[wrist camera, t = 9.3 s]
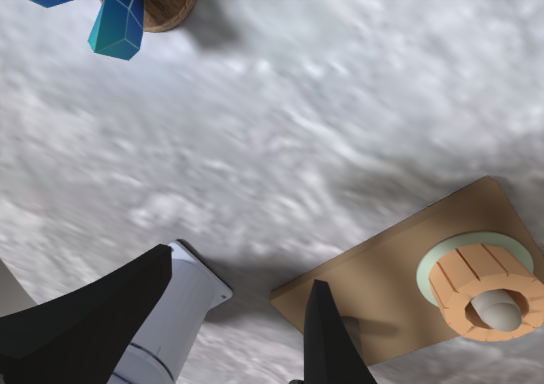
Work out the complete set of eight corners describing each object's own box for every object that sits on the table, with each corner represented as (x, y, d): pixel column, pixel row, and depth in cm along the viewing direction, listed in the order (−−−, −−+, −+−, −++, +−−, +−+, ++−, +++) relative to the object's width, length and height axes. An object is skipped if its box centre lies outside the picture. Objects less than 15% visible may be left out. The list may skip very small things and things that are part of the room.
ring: (493, 313, 21) (518, 349, 19) (416, 296, 22) (430, 329, 19) (538, 254, 19) (575, 287, 16) (449, 236, 19) (470, 264, 16)
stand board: (343, 362, 29) (349, 430, 24) (270, 292, 26) (258, 351, 21) (557, 287, 21) (638, 362, 16) (486, 175, 18) (556, 221, 13)
